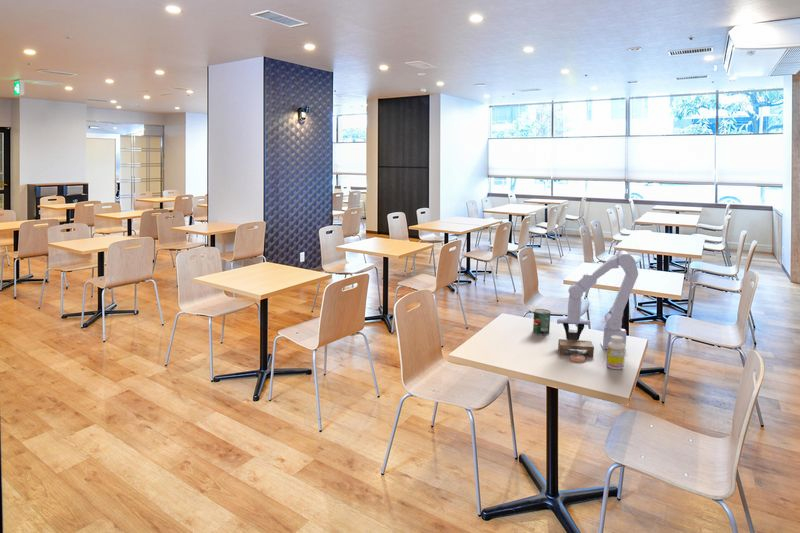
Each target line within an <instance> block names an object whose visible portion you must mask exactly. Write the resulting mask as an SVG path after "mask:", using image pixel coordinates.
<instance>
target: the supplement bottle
mask: <svg viewBox="0 0 800 533" xmlns="http://www.w3.org/2000/svg"><path fill="white" fill-rule="evenodd" d="M622 342H623V337H621V336H616V335H614V336H611V342H609V343H608V349H607V350H606V366H607V367H608V368H609V369H612V370H622V369H623V368H624V366H625V365H624V364H625V356H626V355H625V354H626V350H625V349H626V347H625V344H624V343H622Z"/></svg>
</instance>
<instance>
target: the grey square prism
mask: <svg viewBox="0 0 800 533" xmlns="http://www.w3.org/2000/svg"><path fill="white" fill-rule="evenodd" d="M577 336H578V332H577V329H569V332H568V340H577ZM567 350H568V353H569V355H582V356H583V352H582V350H576V349H567Z"/></svg>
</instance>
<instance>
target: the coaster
mask: <svg viewBox="0 0 800 533" xmlns="http://www.w3.org/2000/svg"><path fill="white" fill-rule="evenodd" d="M569 360H570V361H571V362H574V363H585V362H586V357H585V355H583V354H582V355H574V354H570V358H569Z"/></svg>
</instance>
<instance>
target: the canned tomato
mask: <svg viewBox="0 0 800 533" xmlns="http://www.w3.org/2000/svg"><path fill="white" fill-rule="evenodd" d="M551 313H552V312H551V310H549V309H544V308H537V309H534V310H533V324H532V325H533V326H532V332H533V334H535V335H538V334H539V335H540V336H547V335H549V334H550V328H551Z"/></svg>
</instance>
